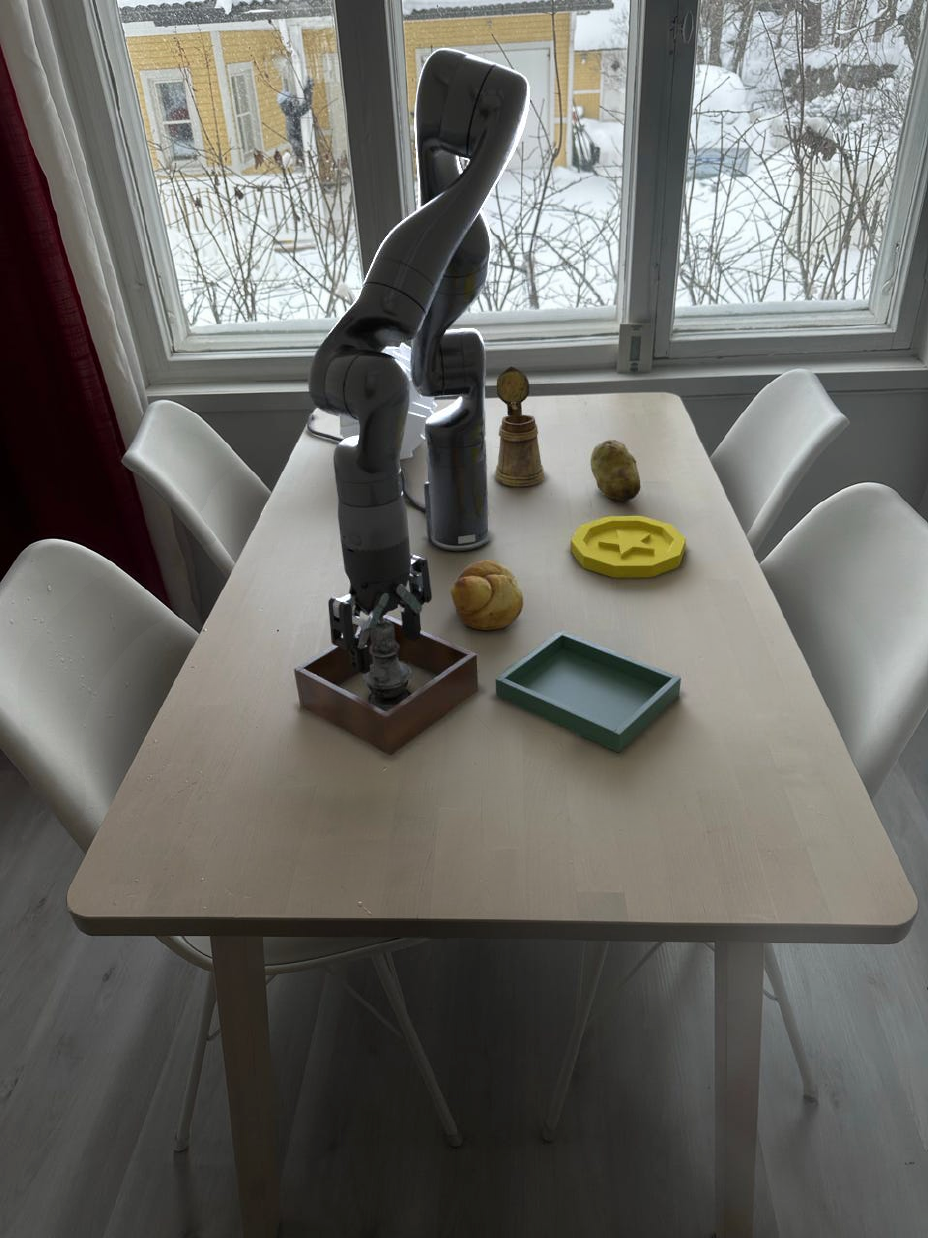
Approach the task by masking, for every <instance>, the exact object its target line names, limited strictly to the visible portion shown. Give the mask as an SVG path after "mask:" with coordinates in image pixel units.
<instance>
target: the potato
mask: <svg viewBox="0 0 928 1238" xmlns="http://www.w3.org/2000/svg"><path fill="white" fill-rule="evenodd" d="M589 463H590V471H591V473H592V475H593V477H594V479H595V481H596V485H597V488H598V490H599V491H600V492H601V493H602V494H603V495H604V496H606V497H608V498H610V499H611V500H615V501H621V502H627V501H632V500H633V499H635V498H636V497H637V496H638V494H639V492H640V491H641V486H642V485H641V478H640V477H641V476H640V473H639V470H638V466H637V465H638V464H637V460H636V459H635V457H634V455H633V454H631V453H630V452H629V449H628V448H627V446H626V444H625V443H623V442H621V441H618V440H615V439H607V440H605V441H603V442H600V443H598V444H596V445H595V446H594V448H593V450H592V452H591V456H590V462H589Z"/></svg>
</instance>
